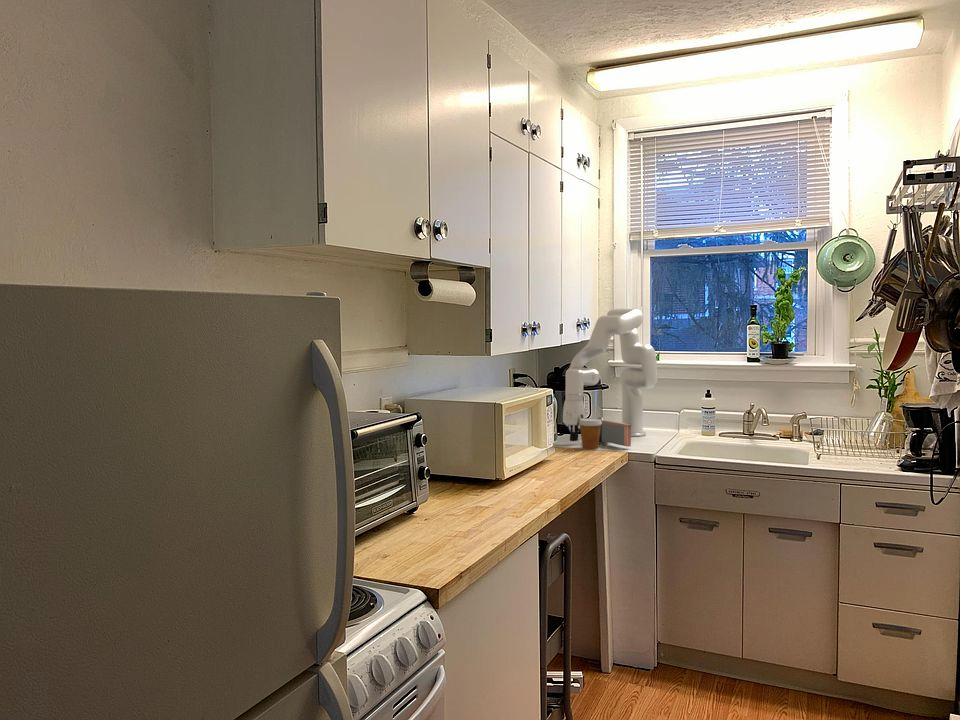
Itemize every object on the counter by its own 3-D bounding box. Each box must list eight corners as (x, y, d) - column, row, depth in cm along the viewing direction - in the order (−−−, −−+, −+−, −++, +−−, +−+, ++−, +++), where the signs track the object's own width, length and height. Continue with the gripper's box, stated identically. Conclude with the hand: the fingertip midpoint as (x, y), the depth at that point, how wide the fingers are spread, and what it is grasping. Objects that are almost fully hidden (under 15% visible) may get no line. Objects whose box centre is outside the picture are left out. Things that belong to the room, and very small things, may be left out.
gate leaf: (601, 441, 316) (601, 420, 315) (604, 440, 317) (605, 420, 316) (627, 446, 301) (627, 424, 301) (630, 446, 302) (631, 424, 302)
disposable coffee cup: (590, 451, 298) (591, 421, 297) (573, 448, 305) (574, 419, 305) (606, 448, 304) (606, 419, 303) (589, 445, 311) (589, 417, 311)
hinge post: (588, 442, 319) (589, 417, 318) (601, 441, 322) (601, 416, 322) (599, 445, 313) (599, 419, 312) (611, 443, 316) (612, 418, 316)
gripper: (556, 397, 318) (556, 439, 319) (578, 400, 305) (577, 444, 306) (570, 396, 321) (570, 437, 322) (592, 399, 309) (592, 442, 309)
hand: (574, 440), depth 314 cm, fingers closed
